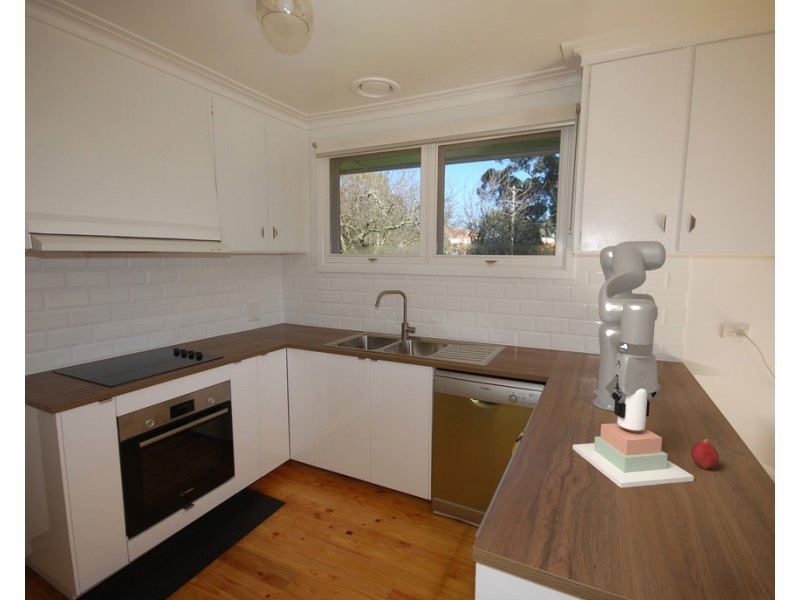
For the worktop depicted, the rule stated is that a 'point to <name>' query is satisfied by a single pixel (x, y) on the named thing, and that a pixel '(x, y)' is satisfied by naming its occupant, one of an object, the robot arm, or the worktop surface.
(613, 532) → the worktop surface
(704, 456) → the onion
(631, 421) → the can
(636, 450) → the tiered block pedestal
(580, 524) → the worktop surface
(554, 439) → the worktop surface
